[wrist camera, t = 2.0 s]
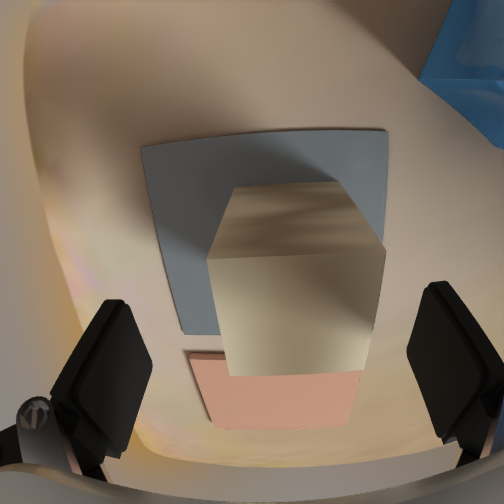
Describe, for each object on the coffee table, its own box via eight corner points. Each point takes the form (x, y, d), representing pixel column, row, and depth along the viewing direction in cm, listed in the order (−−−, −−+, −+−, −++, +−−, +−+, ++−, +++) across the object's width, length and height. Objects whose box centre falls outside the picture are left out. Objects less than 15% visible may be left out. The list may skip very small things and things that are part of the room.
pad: (364, 347, 19) (365, 353, 19) (345, 419, 24) (346, 425, 24) (191, 353, 21) (189, 359, 20) (215, 423, 25) (214, 428, 25)
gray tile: (387, 131, 13) (388, 131, 13) (368, 326, 19) (369, 328, 18) (141, 147, 14) (140, 148, 14) (184, 332, 20) (184, 334, 20)
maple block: (339, 181, 14) (386, 250, 8) (336, 271, 16) (363, 369, 10) (235, 186, 15) (206, 259, 8) (245, 275, 17) (229, 375, 11)
